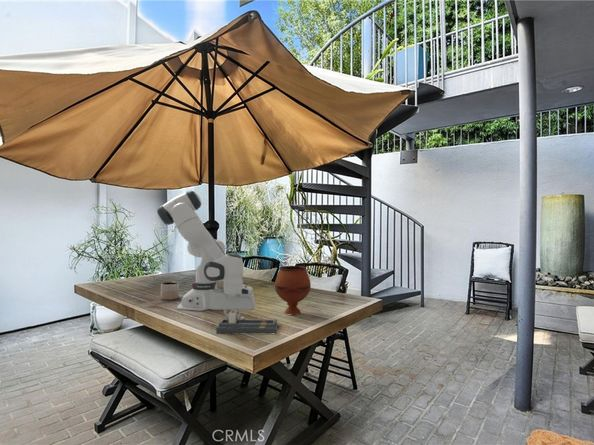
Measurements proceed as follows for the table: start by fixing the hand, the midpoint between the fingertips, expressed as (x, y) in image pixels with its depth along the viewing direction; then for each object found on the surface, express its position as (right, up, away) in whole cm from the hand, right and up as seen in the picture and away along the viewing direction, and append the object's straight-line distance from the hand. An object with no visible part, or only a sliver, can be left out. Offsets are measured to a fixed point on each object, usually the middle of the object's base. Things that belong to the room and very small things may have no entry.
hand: (232, 319), depth 154 cm
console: (+7, -5, 0) cm, 8 cm away
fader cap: (0, -2, 0) cm, 2 cm away
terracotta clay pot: (+27, -5, +27) cm, 38 cm away
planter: (-51, -4, +59) cm, 78 cm away
